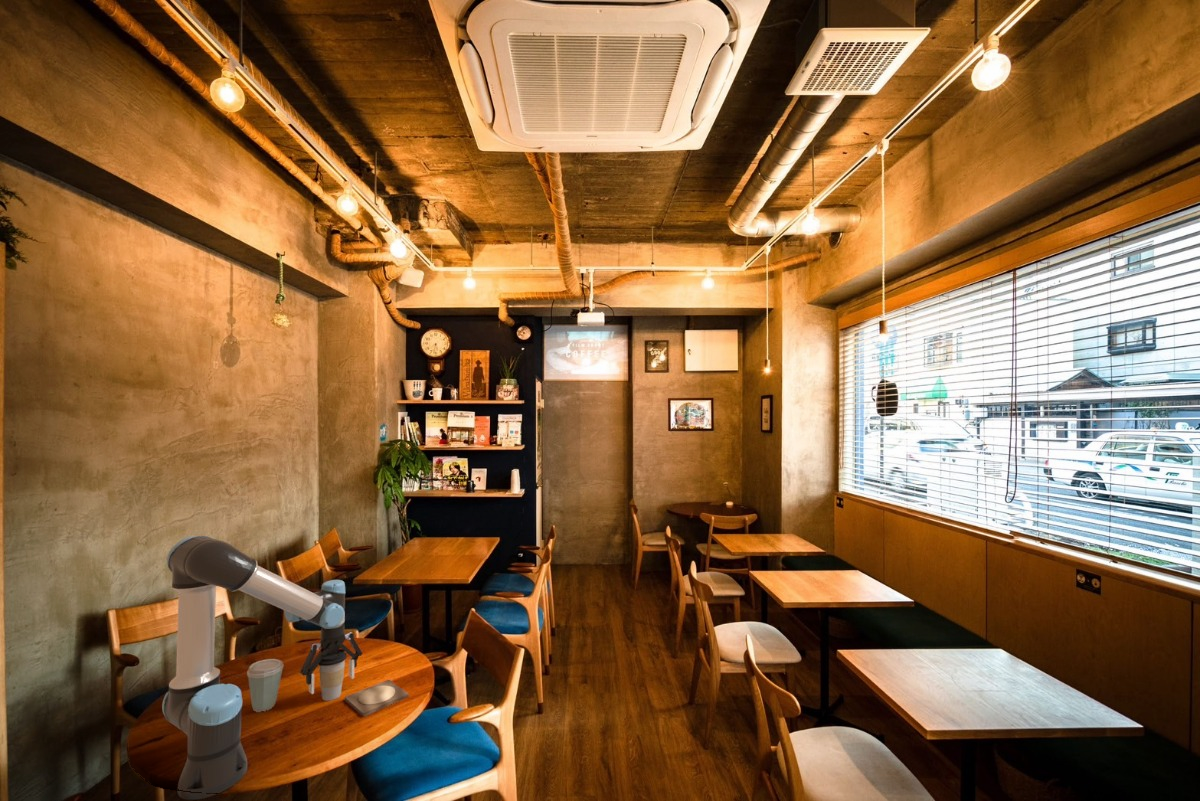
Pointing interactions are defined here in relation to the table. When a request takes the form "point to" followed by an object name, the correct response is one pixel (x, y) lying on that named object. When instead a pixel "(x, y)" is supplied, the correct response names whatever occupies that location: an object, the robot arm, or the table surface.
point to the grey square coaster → (376, 697)
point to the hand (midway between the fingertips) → (332, 684)
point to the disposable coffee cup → (264, 683)
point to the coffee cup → (332, 674)
